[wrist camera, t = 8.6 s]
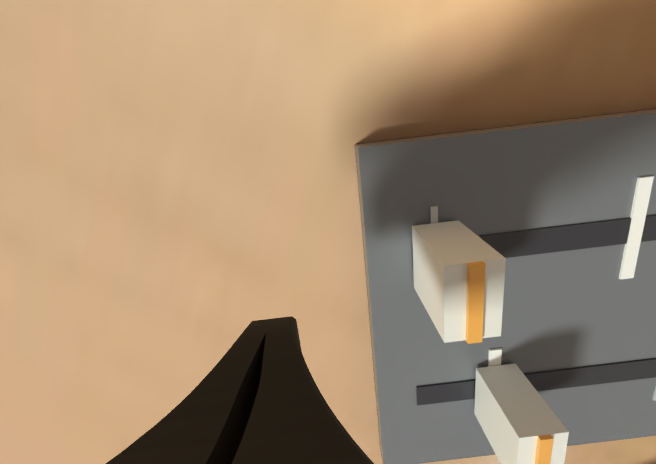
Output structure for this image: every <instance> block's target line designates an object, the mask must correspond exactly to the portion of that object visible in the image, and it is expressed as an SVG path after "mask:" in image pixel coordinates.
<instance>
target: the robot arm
mask: <svg viewBox="0 0 656 464" xmlns="http://www.w3.org/2000/svg"><path fill="white" fill-rule="evenodd" d="M106 464H374V463H373V462H372V461H371V460H370V459H369V458H368V457H367V455H366V454H365V453H364V452H363V451H362V450H361V448H360V447H359V446H358V445H357V444H356V443H355V441H354V440H353V439H352V438H351V436H350V435H349V434H348V432H347V431H346V430H345V428H344V427H343V426H342V424H341V423H340V422H339V420H338V419H337V418H336V416H335V415H334V413H333V412H332V410H331V409H330V407H329V406H328V404H327V403H326V401H325V399H324V398H323V396H322V394H321V393H320V391H319V389H318V387H317V386H316V384H315V382H314V380H313V378H312V376H311V374H310V372H309V369H308V367H307V365H306V363H305V360H304V358H303V355H302V352H301V346H300V340H299V334H298V328H297V322H296V319H295V318H293V317H283V318H275V319H267V320H258V321H252V322H251V323H250V324H249V326H248V327H247V328H246V329H245V330H244V332H243V333H242V334H241V335H240V337H239V338H238V339H237V340H236V342H235V343H234V344H233V345H232V347H231V348H230V349H229V350H228V352H227V353H226V354H225V355H224V356H223V358H222V359H221V360H220V361H219V362H218V364H217V365H216V366H215V367H214V368H213V369H212V371H211V372H210V373H209V374H208V375H207V376H206V377H205V378H204V379H203V380H202V381H201V382H200V384H199V385H198V386H197V387H196V388H195V389H194V390H193V391H192V392H191V393H190V394H189V395H188V396H187V397H186V398H185V399H184V400H183V401H182V402H181V403H180V404H179V405H178V406H176V407H175V408H174V409H173V410H172V411H171V412H170V413H169V414H168V415H167V416H165V417H164V418H163V419H162V420H161V421H160V422H159V423H157V424H156V425H155V426H154V427H152V428H151V429H150V430H149V431H147V432H146V433H145V434H144V435H142V436H141V437H140V438H139V439H138V440H136V441H135V442H134V443H133V444H131V445H130V446H129V447H128V448H126V449H125V450H124V451H122V452H121V453H120V454H118V455H117V456H116V457H114V458H113V459H112V460H110V461H109V462H107V463H106Z"/></svg>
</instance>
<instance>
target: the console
mask: <svg viewBox="0 0 656 464" xmlns="http://www.w3.org/2000/svg"><path fill="white" fill-rule="evenodd" d="M355 151H356V163H357V175H358V187H359V199H360V211H361V223H362V235H363V247H364V259H365V271H366V283H367V295H368V307H369V319H370V331H371V343H372V355H373V367H374V379H375V391H376V403H377V415H378V427H379V439H380V450H381V455H382V460H383V464H419V463H427V462H436V461H444V460H453V459H461V458H470V457H478V456H487V455H495V452H494V450H493V448H492V446H491V444H490V443H489V441H488V439H487V437H486V435H485V433H484V431H483V429H482V427H481V425H480V423H479V421H478V420H477V418H476V416H475V414H474V409H475V383H476V368H481V367H490V366H498V365H507V364H515V363H516V365H517V366H518V367H519V369H520V370H521V371H522V372H523V374H524V375H525V376H526V378H527V379H528V380H529V381H530V383H531V384H532V385H533V387H534V388H535V389H536V390H537V392H538V393H539V394H540V396H541V397H542V398H543V399H544V401H545V402H546V403H547V404H548V406H549V407H550V408H551V410H552V411H553V412H554V413H555V415H556V416H557V417H558V419H559V420H560V421H561V422H562V424H563V425H564V426H565V428H566V429H567V430H568V431H569V435H568V442H567V446H571V445H580V444H588V443H597V442H605V441H613V440H622V439H630V438H639V437H647V436H656V109H651V110H643V111H634V112H626V113H617V114H609V115H600V116H592V117H583V118H575V119H566V120H558V121H549V122H541V123H533V124H524V125H516V126H507V127H499V128H490V129H482V130H473V131H465V132H456V133H448V134H439V135H431V136H423V137H414V138H406V139H397V140H389V141H380V142H372V143H363V144H355ZM457 220H459V221H460V222H461V223H462V224H464V225H465V226H466V227H467V228H469V229H470V230H471V231H472V232H474V233H475V234H476V235H477V236H479V237H480V238H481V239H482V240H484V241H485V242H486V243H487V244H489V245H490V246H491V247H492V248H494V249H495V250H496V251H497V252H499V253H500V254H501V255H502V256H504V257H505V258H506V265H505V281H504V296H503V311H502V327H501V336H498V337H489V338H482V342H480V343H471V344H468V343H467V342H466V340H464V341H456V342H447V343H444V341H443V340H442V338H441V336H440V334H439V332H438V330H437V329H436V327H435V325H434V323H433V321H432V320H431V318H430V316H429V314H428V312H427V310H426V309H425V307H424V305H423V303H422V301H421V300H420V298H419V296H418V294H417V292H416V290H415V289H414V273H413V243H412V226H415V225H423V224H431V223H440V222H448V221H457Z"/></svg>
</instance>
